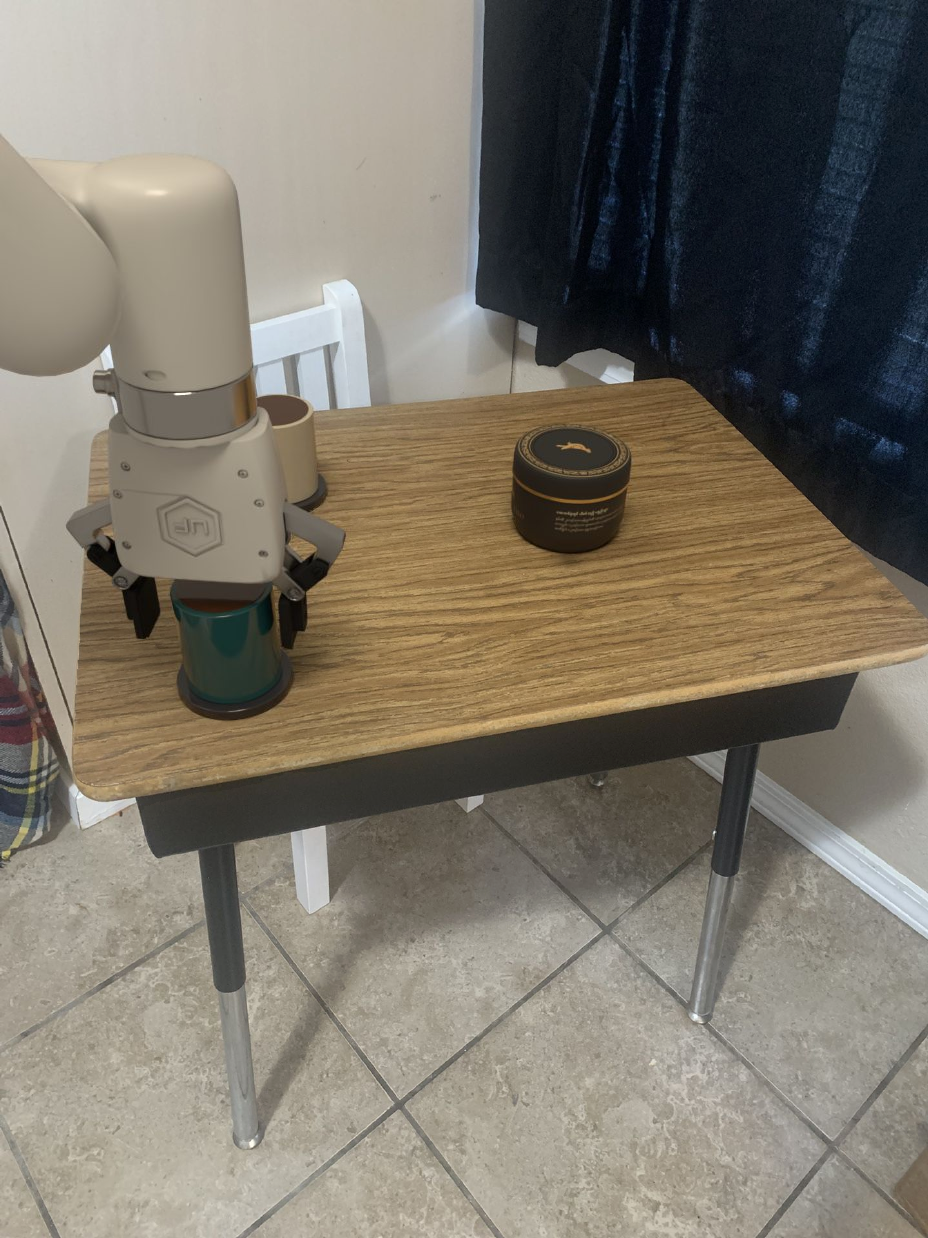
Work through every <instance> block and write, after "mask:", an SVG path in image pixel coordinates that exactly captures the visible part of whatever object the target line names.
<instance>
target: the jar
mask: <svg viewBox="0 0 928 1238" xmlns="http://www.w3.org/2000/svg"><path fill="white" fill-rule="evenodd" d="M512 459H513V460H512V464H511V465H512V466H511V472H512V481H511V497H510V498H511V499H510V507H511V509H510V510H511V514H512V518H513V522H514V524H515V528H516V529H517V531H518V532H519V533H520V534H521V535H522V536H523V538H525V539H526V540H527V541H528V542H530V543H532V544H534V545H535V546H537V547H540V548H541V549H546V550H548V551H553V552H559V553H582V552H583V553H584V552H589V551H592V550H595V549H598V548H600V547H602V546H604V545H605V544H606V543H608V542H610V540H611V539H612V538H614V536H615V535H616V533H617V531H618V529H619V527H620V525H621V522H622V521H623V518H624V513H625V512H624V511H625V507H626V499H627V493H628V487H629V484H630V482H631V477H632V473H631V470H632V453H631V450H630V447H629V446H628V445H627V443H625V442H624V440H622V439H621V438H620V437H619V436H617V435H616V434H614V433H611V432H609V431H607V430H605V429H602V428H600V427H595V426H592V425H586V424H581V423H552V424H546V425H542V426H538V427H535V428H532V429H530V430H529V431H526V432H525V433H524V434H523V435H521V437H519V439H518V440H517V442H516V443H515V447H514V451H513V458H512Z"/></svg>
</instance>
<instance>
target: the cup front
mask: <svg viewBox="0 0 928 1238" xmlns="http://www.w3.org/2000/svg"><path fill="white" fill-rule="evenodd" d="M274 589H275V588H274V585H273V584H272V583H271V582H270V581H269V582H266V583H260V584H242V583H224V582H208V581H193V580H179V579H173V581H172V583H171V586H170V588H169V599H170V603H171V609H172V614H173V618H174V624H175V628H176V633H177V638H178V643H179V649H180V654H181V660H182V663H183V664H184V670H185V675H186V680H187V683H188V686H189V688H190V689H191V690H192V691H193V692H194V693H195V694H196V695H197V696H199V697H200V698H202V699H204V700H207V701H210V702H214V703H221V704H235V703H242V702H246V701H250V700H252V699H255V698H257V697H260V696H261V695H263V694H265V693H266V692H268V691H269V690H270V689H272V688H273V687H274V686H275V684H276V683H277V682H278V680H279V679H280V676H281V674H282V659H281V650H280V648H281V640H280V636H279V635H280V631H279V625H278V615H277V607H276V598H275V597H276V596H275V590H274Z"/></svg>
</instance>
